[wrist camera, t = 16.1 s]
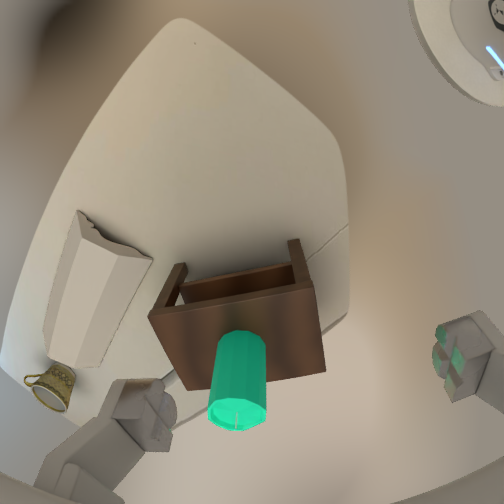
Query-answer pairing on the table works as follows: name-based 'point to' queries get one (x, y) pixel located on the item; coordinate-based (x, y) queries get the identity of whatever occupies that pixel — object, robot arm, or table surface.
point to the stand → (241, 319)
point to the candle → (238, 382)
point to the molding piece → (89, 295)
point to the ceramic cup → (54, 387)
